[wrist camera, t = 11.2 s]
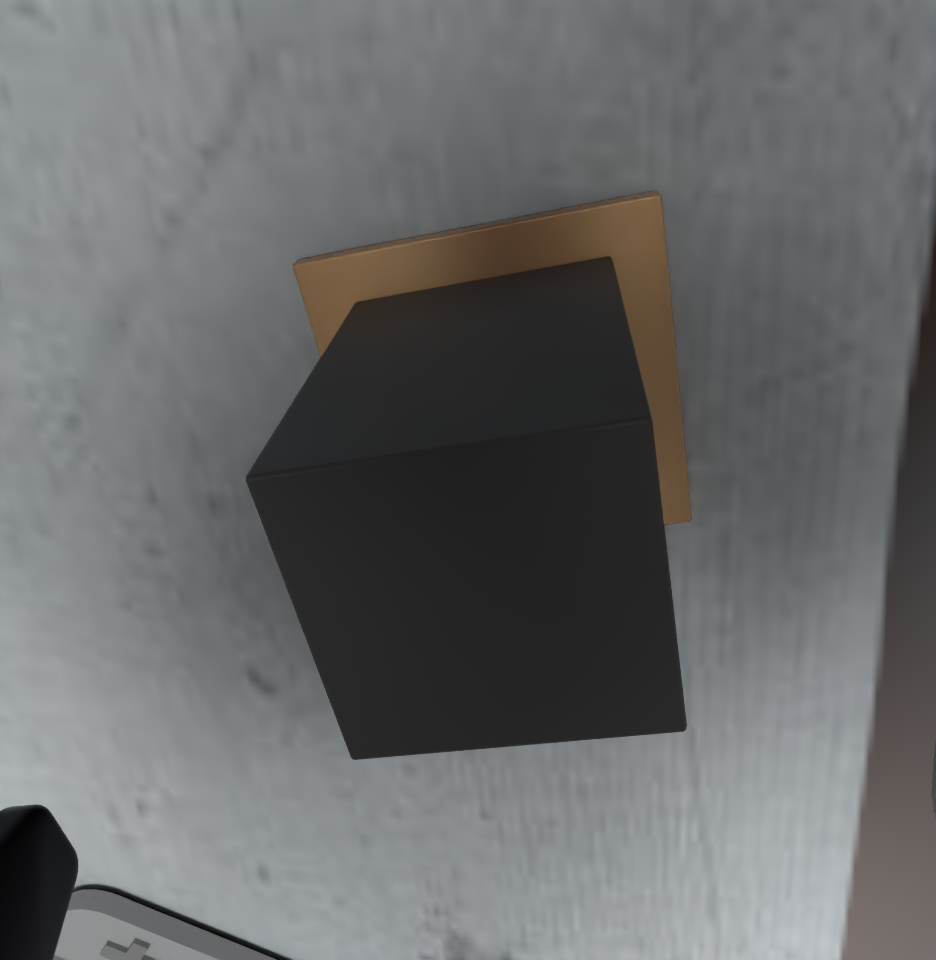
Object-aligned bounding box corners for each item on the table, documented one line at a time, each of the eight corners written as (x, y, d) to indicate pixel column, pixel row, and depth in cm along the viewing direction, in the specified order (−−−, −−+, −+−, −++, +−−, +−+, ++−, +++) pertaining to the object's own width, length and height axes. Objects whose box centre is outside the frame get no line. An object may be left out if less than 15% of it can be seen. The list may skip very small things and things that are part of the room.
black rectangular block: (611, 254, 16) (653, 416, 10) (640, 485, 18) (688, 733, 12) (354, 301, 17) (242, 478, 10) (413, 516, 19) (351, 762, 13)
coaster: (659, 189, 15) (661, 193, 15) (689, 512, 19) (692, 522, 18) (296, 259, 17) (291, 264, 16) (385, 551, 20) (382, 561, 20)
